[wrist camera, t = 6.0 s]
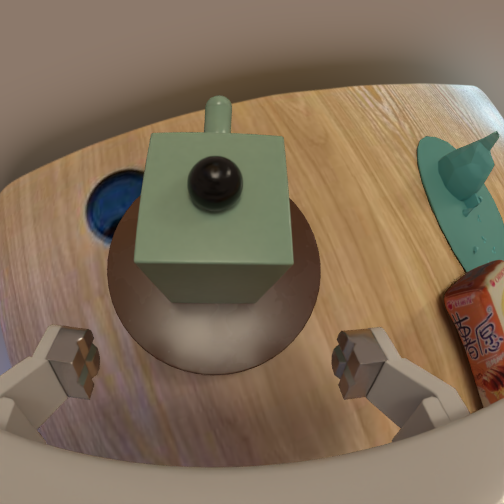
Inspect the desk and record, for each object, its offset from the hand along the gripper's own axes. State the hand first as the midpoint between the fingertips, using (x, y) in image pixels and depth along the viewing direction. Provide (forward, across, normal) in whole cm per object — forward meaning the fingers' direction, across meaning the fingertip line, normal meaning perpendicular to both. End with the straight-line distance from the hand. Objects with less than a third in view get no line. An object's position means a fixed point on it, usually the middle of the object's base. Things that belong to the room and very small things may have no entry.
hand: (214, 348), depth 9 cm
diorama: (+17, -27, 0) cm, 32 cm away
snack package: (+5, -26, +12) cm, 29 cm away
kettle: (+12, 0, +4) cm, 13 cm away
